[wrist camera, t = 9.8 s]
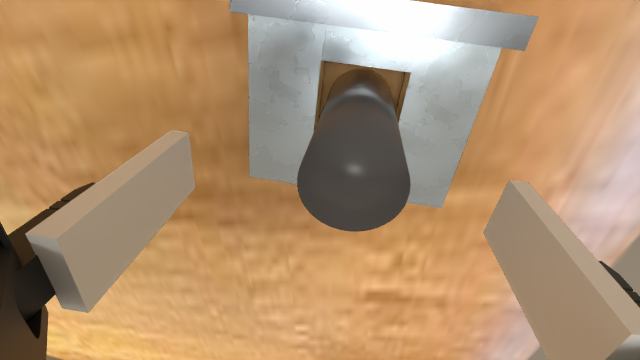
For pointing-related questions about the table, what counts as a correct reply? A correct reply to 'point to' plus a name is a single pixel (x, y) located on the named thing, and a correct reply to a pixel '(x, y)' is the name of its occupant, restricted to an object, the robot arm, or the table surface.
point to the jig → (379, 52)
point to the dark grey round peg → (355, 157)
